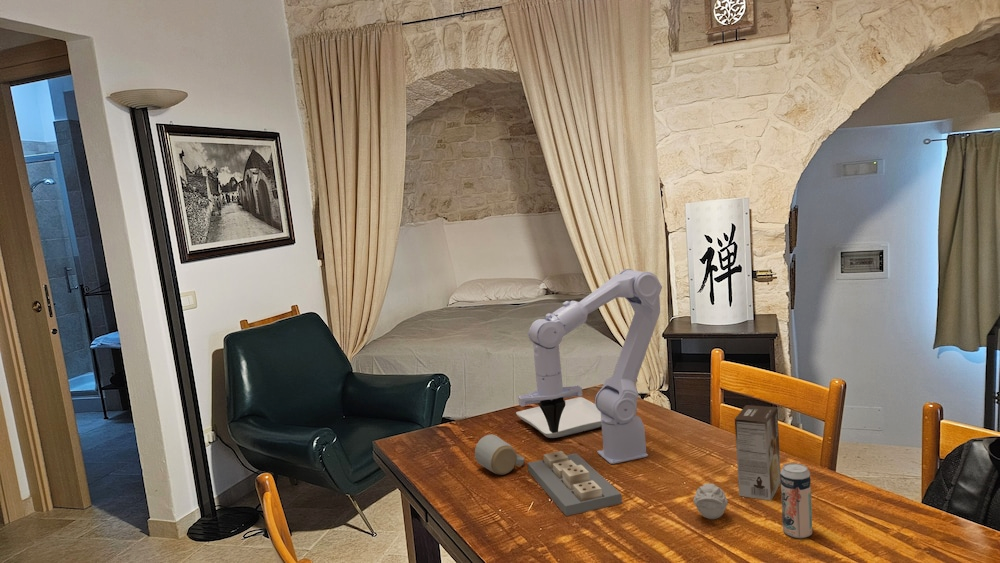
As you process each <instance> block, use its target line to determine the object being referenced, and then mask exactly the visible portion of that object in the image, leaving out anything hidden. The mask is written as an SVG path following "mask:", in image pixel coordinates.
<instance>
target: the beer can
mask: <svg viewBox="0 0 1000 563" xmlns="http://www.w3.org/2000/svg"><path fill="white" fill-rule="evenodd" d="M780 477H781V483H780V492H781V493H780V494H781V495H780V496H781V516H782V517H781V519H782V531H783V533H784V534H786V535H788V536H789V537H791V538H793V539H794V538H795V539H805V538H808V537H810V536H812V534H813V533H814V532H813V512H812V509H813V508H812V487H811V486H812V485H811V484H812V483H811V472H810V470H809V469H808V467H807V466H806V465H804V464H801V463H796V462H795V463H794V462H793V463H792V462H791V463H790V462H789V463H785V464H783V466H782V469H780Z"/></svg>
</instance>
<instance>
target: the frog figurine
mask: <svg viewBox="0 0 1000 563" xmlns="http://www.w3.org/2000/svg"><path fill="white" fill-rule="evenodd" d="M728 501H729V500H728V498H727V497H726V494H725V492H724V490H723V489H722V488H721V487H719V486H717V485H716V484H714V483H708V482H707V483H704V484H703V485H702V486H699V488H697V489H696V492H695V494H694V497H693V504H694V505H695V506H696V509H697V511H698V512H699V514H701V516H702V517H704V518H706V519H708V520H716V519H719V518H720V517H722V516H723V514H724V512H725V511H726V508H727V507H728V505H729V504H728V503H729V502H728Z"/></svg>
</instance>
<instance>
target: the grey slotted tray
mask: <svg viewBox="0 0 1000 563" xmlns="http://www.w3.org/2000/svg"><path fill="white" fill-rule="evenodd" d="M565 455H566V456H568V457H569V460H572V461H573V462H574V463H575V464H576V465H582V466H583V467H584V468H585V469H586V470H587V471H589V475H590V481H592V480H593V481H594V482H595V483H596V484H597V485H598V486H599V487H600V488H602V497H600V498H596V499H591V500H587V501H582V502H580V501H579V500H578V499H577V497H576V496H575V495H574V492H573V489H572V490H569V489H568V488H567V487H566V486H565V484H564V483H563V478H562V479H559V478H558V477H557V476H556V475H555V474H554V473H553V468H552V469H549V468H548V467H547V466H546V464H545V463H544V459H540V460H536V461H530V462H527V463H526V464H527V471H528V473H529V474H530V475H531V476H532V478H533V479H534V480H535V481H536V482H537V483H538V485H539V486H540V487H541V488H542V489H543V490H544V492H545V493H546V494H547V495H548V496H549V498H551V500H552V501H553V502H554V504H555V505H556V506H557V507H558V508H559V509H560V510H561V512H562V513H563V514H564V515H565V517H567V516H572V515H577V514H580V513H586V512H590V511H594V510H598V509H599V510H600V509H603V508H607V507H612V506H616V505H620V504H623V500H622V499H623V497H622V493H621V492H620V491H619V490H618V489H617V488H616V487H614V486H613V485H612V484H611V483H610V482H609V481H608V480H607V479H606V478H604V476H603V475H601V474H600V473H599V472H598V471H597V470H596V469H594V468H593V467H592V466H591V465H590V464H589V463H588V462H587V461H586V460H585V459H584V458H582V456H580V455H579V454H578V453H577V452H575V453H570V454H565Z"/></svg>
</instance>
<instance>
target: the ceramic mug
mask: <svg viewBox="0 0 1000 563" xmlns="http://www.w3.org/2000/svg"><path fill="white" fill-rule="evenodd" d="M474 448H475V449H474V457H475V460H476V462H477V463H478V465H480V466H482V467H483V468H485V469H487V470H488V471H490V472H492V473H493V474H495V475H500V476H503V475H504V476H505V475H506V474H509V473H510V472H512V470H514V468H515V466H524V463H525V457H524V456H522V455H520V454H517V452H516V449H515V447H513V446H512V445H511V444H510V443H508V442H506V441H505V440H503V439H502V438H501V437H499V436H497V435H495V434H486V435H484V436H482V437H481V438H480V439H479V440H478V442H477V443H476V445H475V447H474Z"/></svg>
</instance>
